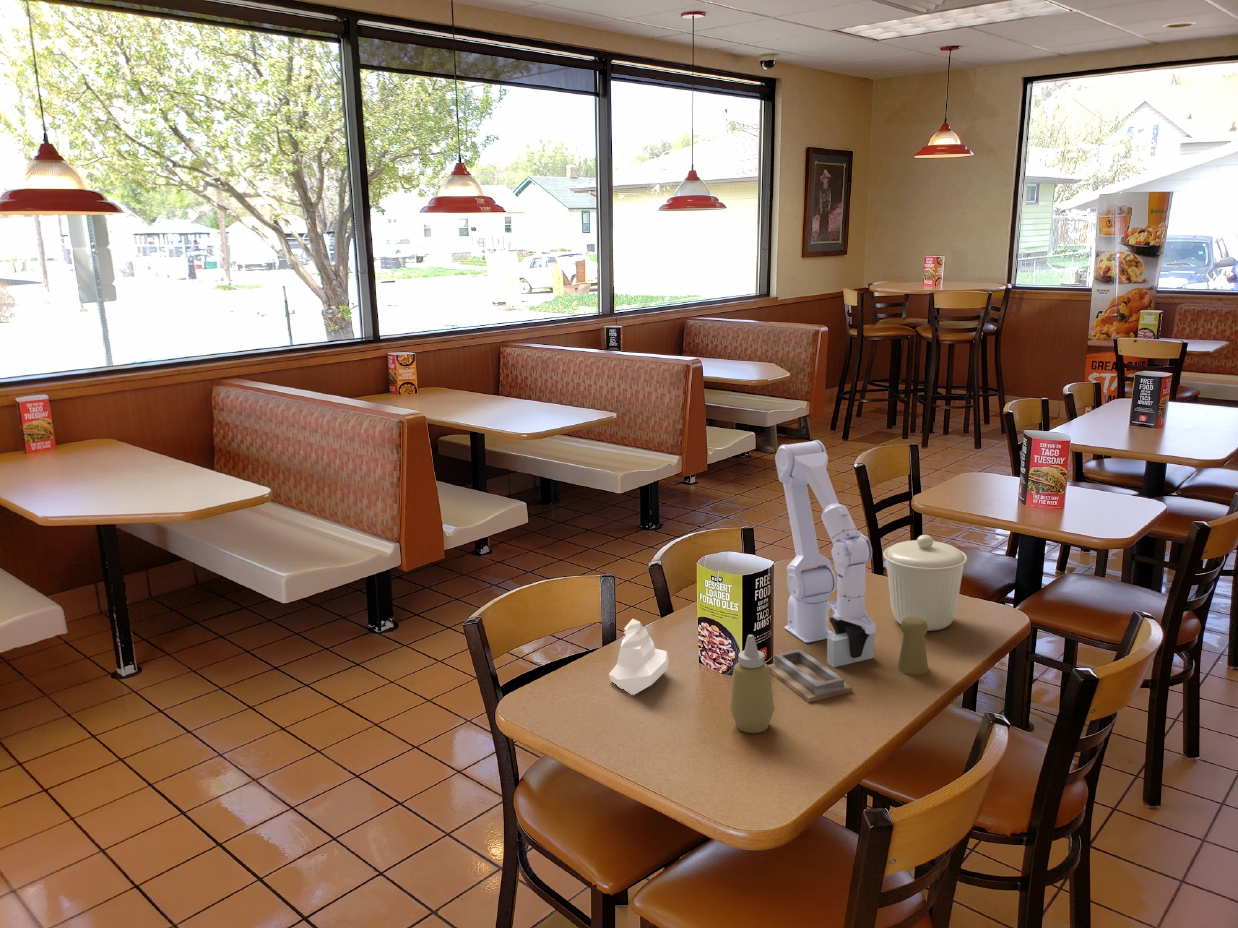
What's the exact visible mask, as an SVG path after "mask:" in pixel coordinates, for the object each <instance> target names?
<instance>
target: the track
mask: <svg viewBox="0 0 1238 928" xmlns="http://www.w3.org/2000/svg"><path fill="white" fill-rule="evenodd" d="M773 659H774V662H773V663H771V664H767V665H768V667H769V669H770V674H771V675H773V677H775V678H777V679H778V680H779V681H781V682H782V683H783V684H784V685H785V686H787V687H788V688H790V689H791V690H792V691H793V692H795V693H796V694H797V695H798V696H799V697H800V698H802V699H803V700H804V701H806V702H807V703H814V702H817V701H822V700H825V699H829V698H834V697H838V696H841V695H844V694H845V695H846V694H849V693H853V686H851V685H850V684H848V683H847V682H845V679H844V678H843V677H841V676H840V675H838V674H837V673H836V672H834V671H833V670H831V669H830V668H829V667H827V666H826V665H824V664H823V663H821V662H820V661H819V660H817V659H816V658H814V657H813V656H812V655H810V654H809V653H807V652H806V651H804V649H801V648H800V649H795V650H791V651H786V652H785V651H784V652H781V653H776V654H774V658H773Z"/></svg>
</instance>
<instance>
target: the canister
mask: <svg viewBox="0 0 1238 928" xmlns="http://www.w3.org/2000/svg"><path fill="white" fill-rule="evenodd" d="M882 555H883V558H884V559H885V560H886V572H887V583H888V590H889V591H888V593H889V601H890V606H891V612H892V613H891V614H892V615H893V618H894V619H895V620H896V622H897V623H898V624H900V625H901V623H902V621H903V619H904V618H907V617H919V618H922V619H924V620H925V621H926V623H927V632H930V631H931V632H932V631H933V632H934V631H938V630H939V631H940V630H943V629H945V628H947V627H948V626H950V625H951V624H952V623H953V621H954V619H955V615H956V613H957V607H958V602H959V597H960V596H959V595H960V590H961V583H962V578H963V573H964V572H963V571H964V565H965V564H966V563H967V561H968V556H967V554H966V553H965V552H963V551H962V550H960V549H959V548H958V547H956V546H953V545H951V544H949V543H946V542H941V541H935V540H934V538H933V537H932V536H930V535H928V534H921V535H919V536H918V537H917V539H915V540H906V541H905V540H904V541H901V542H897V543H895V544H893V545H891V546H888V547H887V548H885V550H884V551H883V554H882Z"/></svg>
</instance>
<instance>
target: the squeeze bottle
mask: <svg viewBox="0 0 1238 928" xmlns="http://www.w3.org/2000/svg"><path fill="white" fill-rule="evenodd" d="M764 654H765V653H764V652H763V651H761V650H758V645H757V642H756V639H755V635H754V634H748V635H747V638H746V642H745V646H744V650H742V651H739V653H738V655H737V656H738V659H737V660H738V662H737V663H735V664H734V666H733V669H732V680H731V681H732V682H731V693H730V705H729V709H730V711H731V715H732V717H733V720H734V722H735V724H736V728H737V729H739V730H740V731H741V732H744V733H749V734H759V733H762V732H765V731H767V729H768V727H769V725H770V722H771V720H772V717H773V714H774V711H775V705H774V703H775V702H774V695H773V688H772V681H771V679H772V678H771V673H770V669H769V667H768V665H769V664H767V663H766V662H765V655H764Z"/></svg>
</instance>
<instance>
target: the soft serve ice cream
mask: <svg viewBox="0 0 1238 928" xmlns="http://www.w3.org/2000/svg"><path fill="white" fill-rule="evenodd" d="M623 629H624V631H623V634H625V636H624V637H623V639H622V640H621V643H620V644H621V645H620V649H619V652H618V657H617V663H616V664H615V665H614V667H613V668H612V669H611V671H610V672H609V673H608V676H609V681H610V682H611V681H612V682H613V683H614V684H613V683H612V684H613V685H615V684H616V685H617V686H616V685H615V686H616V687H618V688H620V689H621V690H622V689H624V690H625V691H627V692H629V693H631V694H633V696H635V695H636V694H638V693H640V692H641V691H643V690H644V689H647V688H649V687H650V686H652V685H653V684H654V683H655V682H656V681H657V680H658V679H659V678H660V677H661V676H662V675H663V674H664V673H665V672H666V671H667V670H668V668H669V661H670V660H669V655H668V651H667V650H662V649H658V648H656V647H655V642H654V640H652V637H650V635H649V633H648V630H647V628H646V627H644V626H643V625H642V622H641V621H640V620H637V619H634V618H632V619H631V620H630V621H629V622H628V624H626V626H625V627H624V628H623ZM624 690H623V691H624ZM625 691H624V692H625Z"/></svg>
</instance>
